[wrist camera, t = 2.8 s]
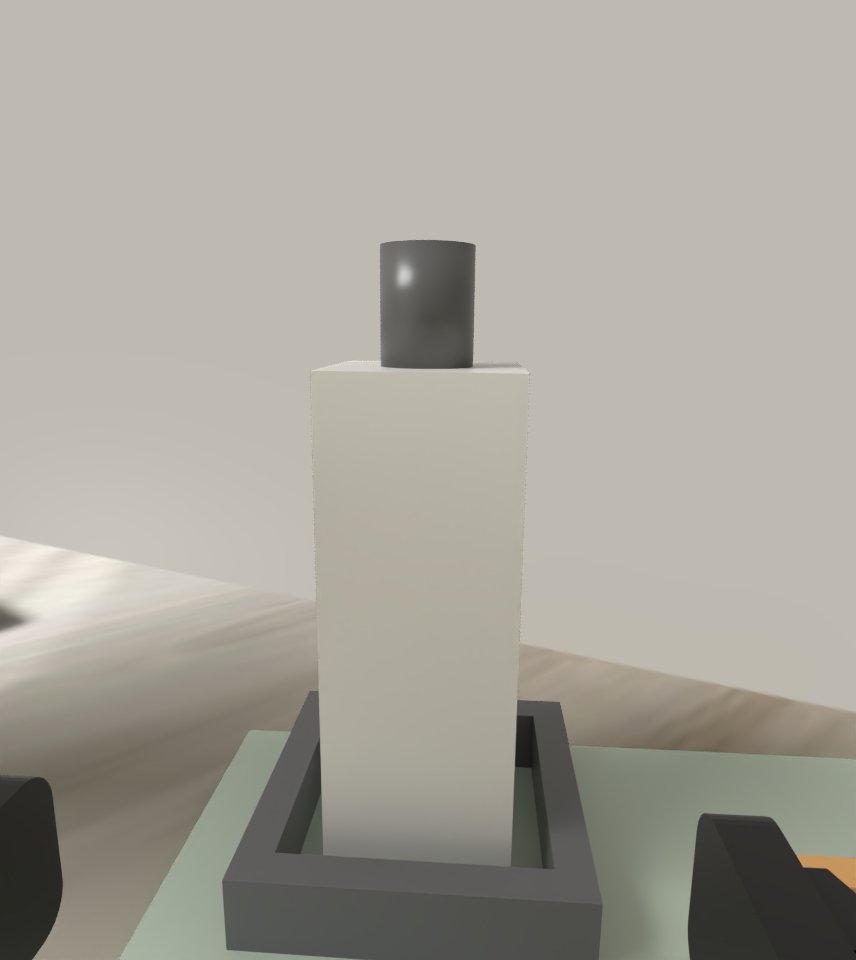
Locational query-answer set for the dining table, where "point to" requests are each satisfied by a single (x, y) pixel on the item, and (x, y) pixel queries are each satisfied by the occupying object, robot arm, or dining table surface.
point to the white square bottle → (419, 574)
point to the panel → (482, 888)
